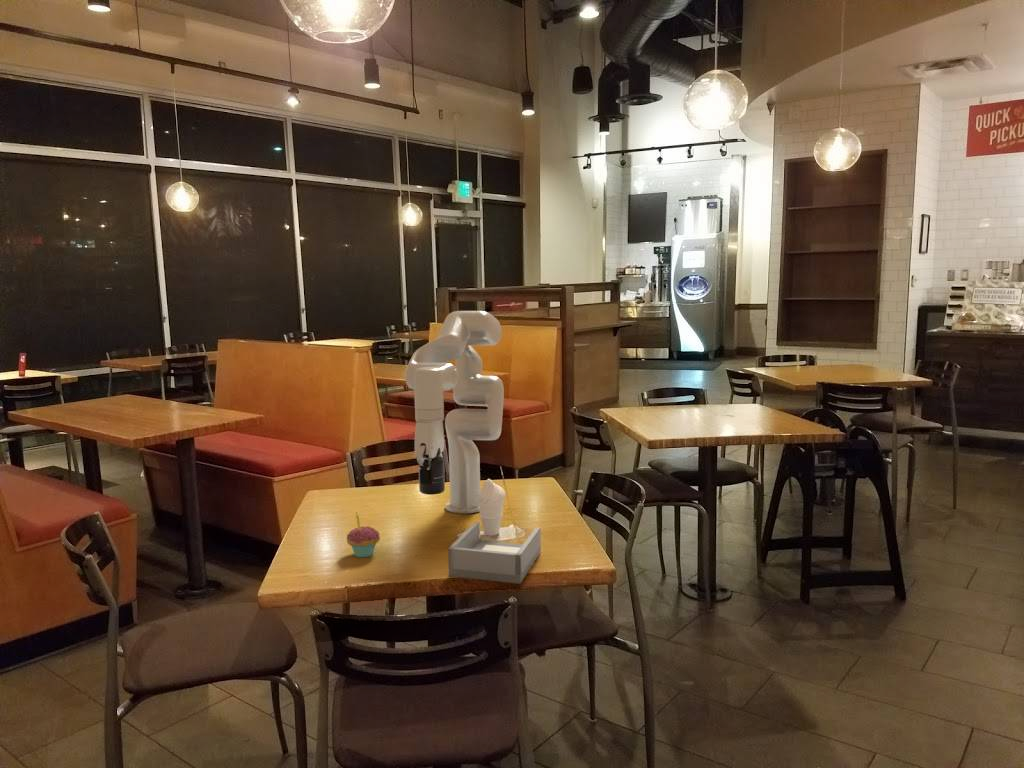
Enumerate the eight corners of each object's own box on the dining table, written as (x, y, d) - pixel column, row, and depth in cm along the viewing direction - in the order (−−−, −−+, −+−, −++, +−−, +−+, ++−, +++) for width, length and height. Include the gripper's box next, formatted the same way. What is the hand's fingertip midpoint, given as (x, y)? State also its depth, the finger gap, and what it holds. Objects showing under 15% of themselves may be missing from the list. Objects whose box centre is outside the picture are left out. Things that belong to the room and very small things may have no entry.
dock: (475, 546, 194) (475, 521, 193) (540, 553, 189) (540, 527, 188) (448, 576, 175) (448, 548, 174) (520, 583, 170) (520, 555, 169)
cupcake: (364, 562, 184) (362, 517, 182) (340, 556, 189) (338, 511, 187) (387, 551, 191) (385, 508, 190) (363, 545, 196) (361, 503, 194)
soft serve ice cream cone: (492, 526, 210) (491, 472, 208) (512, 533, 204) (511, 478, 202) (470, 533, 204) (469, 478, 202) (490, 540, 198) (489, 484, 196)
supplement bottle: (440, 495, 188) (439, 451, 186) (415, 494, 190) (414, 450, 188) (448, 488, 195) (446, 444, 193) (424, 486, 196) (422, 444, 194)
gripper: (429, 407, 198) (431, 470, 201) (402, 420, 182) (405, 488, 185) (454, 408, 196) (456, 471, 199) (430, 421, 180) (432, 490, 183)
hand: (431, 479), depth 192 cm, fingers closed on supplement bottle, 6 cm apart
